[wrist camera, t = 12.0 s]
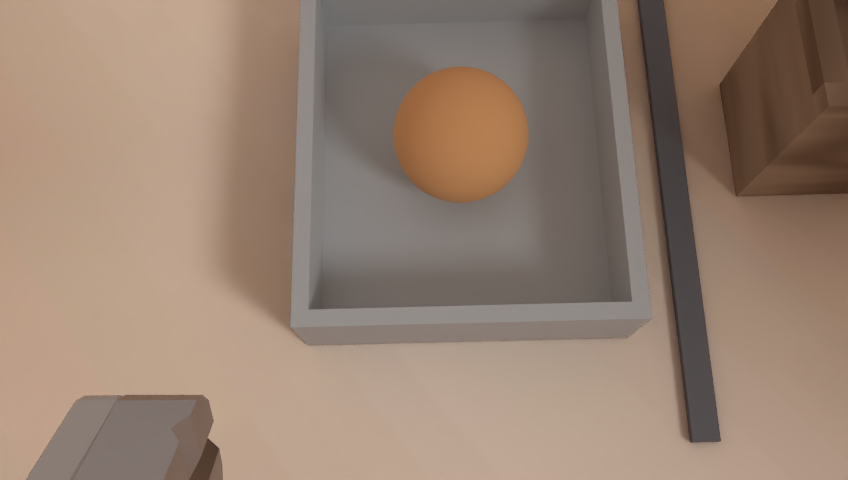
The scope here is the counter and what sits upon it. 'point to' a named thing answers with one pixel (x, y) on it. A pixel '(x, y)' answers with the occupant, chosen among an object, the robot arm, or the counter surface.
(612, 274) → the tray
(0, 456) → the counter surface
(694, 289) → the line
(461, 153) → the ball
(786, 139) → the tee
